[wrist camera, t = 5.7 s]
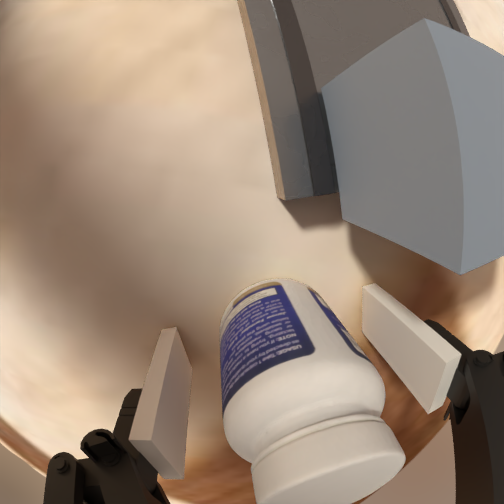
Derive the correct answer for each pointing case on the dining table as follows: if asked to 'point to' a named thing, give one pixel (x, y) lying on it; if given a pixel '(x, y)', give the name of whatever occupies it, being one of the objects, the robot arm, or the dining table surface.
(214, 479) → the dining table surface
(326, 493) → the pill bottle
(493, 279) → the dining table surface
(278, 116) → the vise
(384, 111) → the block
